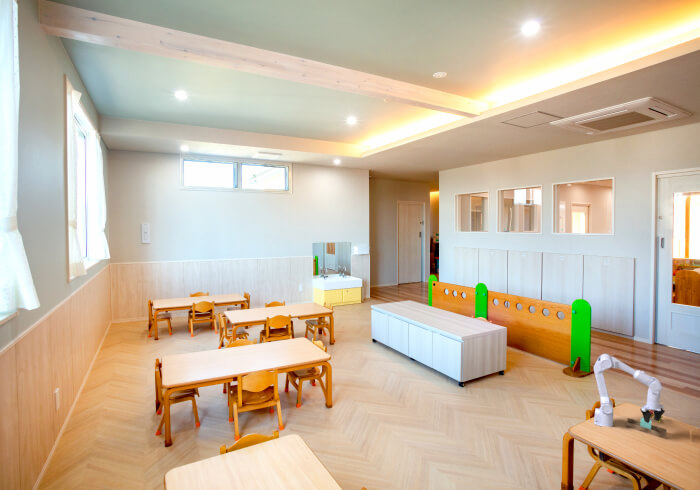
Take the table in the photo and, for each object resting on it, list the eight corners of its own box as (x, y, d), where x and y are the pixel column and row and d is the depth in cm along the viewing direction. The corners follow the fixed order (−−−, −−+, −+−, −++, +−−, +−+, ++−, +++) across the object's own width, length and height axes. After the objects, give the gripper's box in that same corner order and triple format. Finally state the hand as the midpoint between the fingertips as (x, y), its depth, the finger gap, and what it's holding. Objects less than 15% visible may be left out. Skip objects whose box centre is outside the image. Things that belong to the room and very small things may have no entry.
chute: (626, 428, 223) (626, 422, 222) (627, 423, 228) (627, 417, 228) (667, 440, 210) (667, 435, 210) (667, 435, 215) (667, 429, 215)
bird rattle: (648, 424, 230) (665, 423, 224) (640, 407, 232) (657, 405, 226) (647, 420, 235) (665, 419, 229) (640, 403, 237) (657, 401, 231)
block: (639, 430, 219) (640, 420, 219) (640, 426, 223) (641, 417, 222) (650, 433, 216) (651, 423, 215) (650, 429, 219) (651, 420, 219)
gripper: (651, 404, 206) (649, 426, 208) (670, 401, 210) (668, 423, 211) (638, 398, 213) (636, 419, 214) (657, 395, 217) (655, 416, 218)
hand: (651, 421), depth 213 cm, fingers open, 7 cm apart
